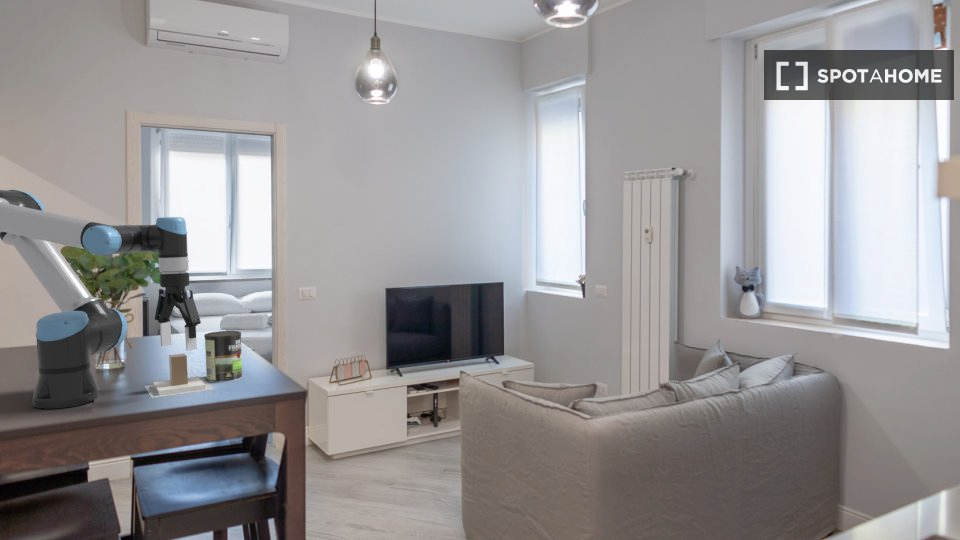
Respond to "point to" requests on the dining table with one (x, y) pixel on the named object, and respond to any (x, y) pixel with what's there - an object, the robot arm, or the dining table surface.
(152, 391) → the mat
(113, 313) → the robot arm
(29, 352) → the dining table surface
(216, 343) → the coffee can
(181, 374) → the square plate with block
